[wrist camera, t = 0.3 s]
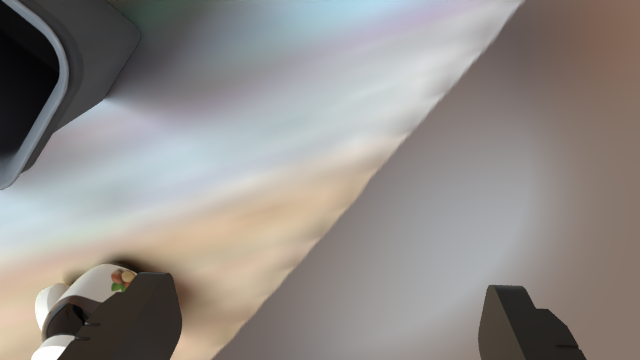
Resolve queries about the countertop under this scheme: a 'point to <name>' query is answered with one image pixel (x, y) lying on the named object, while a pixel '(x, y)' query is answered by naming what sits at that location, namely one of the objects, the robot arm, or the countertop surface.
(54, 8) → the storage bin
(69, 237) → the countertop surface
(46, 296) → the spread jar
